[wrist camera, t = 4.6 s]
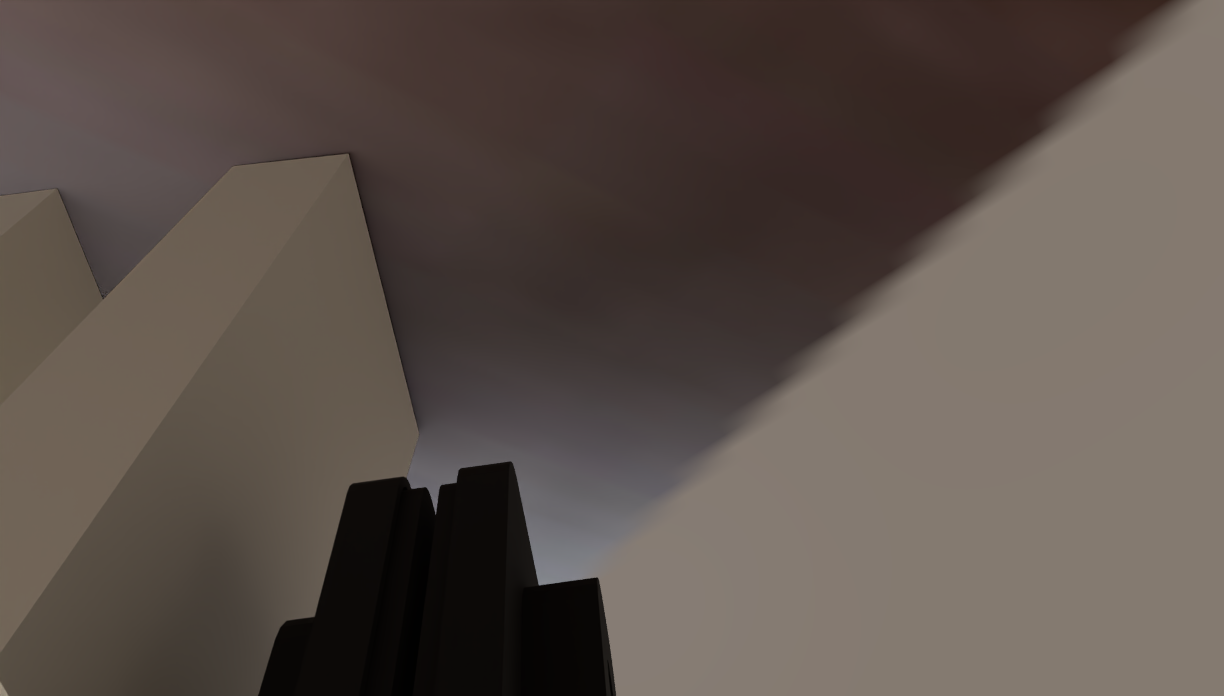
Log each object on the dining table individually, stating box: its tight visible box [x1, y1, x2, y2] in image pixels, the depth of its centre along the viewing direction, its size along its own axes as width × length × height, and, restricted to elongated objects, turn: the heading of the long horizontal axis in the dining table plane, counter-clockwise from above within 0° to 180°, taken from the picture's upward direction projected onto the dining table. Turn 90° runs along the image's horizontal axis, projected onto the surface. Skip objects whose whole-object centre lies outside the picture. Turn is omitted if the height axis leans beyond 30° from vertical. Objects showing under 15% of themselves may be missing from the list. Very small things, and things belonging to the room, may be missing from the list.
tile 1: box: [0, 154, 419, 696], centre depth 12 cm, size 2×5×10 cm, turn 6°
